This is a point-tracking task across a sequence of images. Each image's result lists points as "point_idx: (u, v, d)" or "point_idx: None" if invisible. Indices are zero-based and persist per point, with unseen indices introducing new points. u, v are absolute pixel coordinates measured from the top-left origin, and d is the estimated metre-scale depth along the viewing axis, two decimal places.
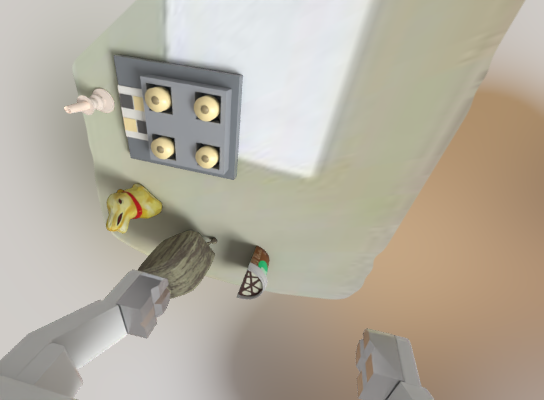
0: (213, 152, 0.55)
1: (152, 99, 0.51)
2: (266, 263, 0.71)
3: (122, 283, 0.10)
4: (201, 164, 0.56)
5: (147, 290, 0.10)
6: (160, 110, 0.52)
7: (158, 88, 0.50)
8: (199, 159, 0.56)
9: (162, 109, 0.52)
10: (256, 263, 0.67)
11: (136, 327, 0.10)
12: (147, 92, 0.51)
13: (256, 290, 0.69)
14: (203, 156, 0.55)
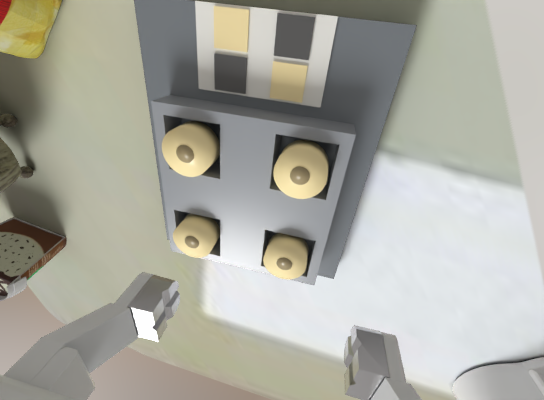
0: None
1: (302, 169, 0.21)
2: None
3: (133, 286, 0.10)
4: (178, 232, 0.28)
5: (158, 293, 0.10)
6: (277, 180, 0.22)
7: None
8: (187, 232, 0.28)
9: (280, 185, 0.23)
10: (32, 272, 0.39)
11: (147, 330, 0.10)
12: (318, 161, 0.21)
13: None
14: (196, 239, 0.28)
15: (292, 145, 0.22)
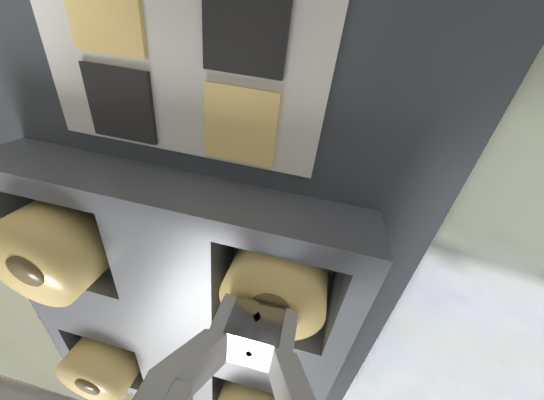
0: None
1: (276, 299, 0.10)
2: None
3: (222, 309, 0.10)
4: (62, 372, 0.16)
5: (250, 317, 0.10)
6: None
7: None
8: (77, 374, 0.16)
9: None
10: None
11: (239, 355, 0.09)
12: (306, 290, 0.10)
13: None
14: (93, 385, 0.16)
15: None
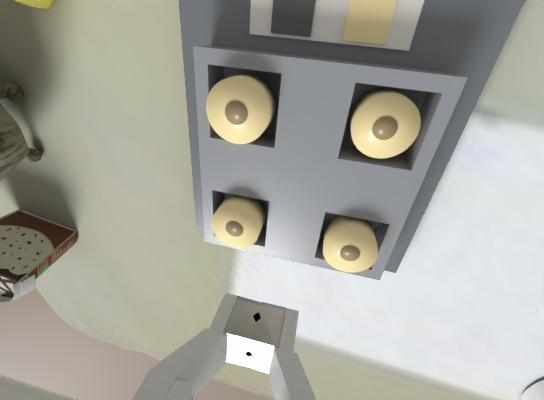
0: None
1: (389, 120, 0.18)
2: None
3: (222, 309, 0.10)
4: (218, 217, 0.23)
5: (250, 317, 0.10)
6: (355, 136, 0.19)
7: None
8: (230, 216, 0.23)
9: (357, 142, 0.19)
10: (40, 270, 0.34)
11: (239, 356, 0.09)
12: (411, 108, 0.17)
13: None
14: (240, 225, 0.23)
15: (374, 93, 0.18)
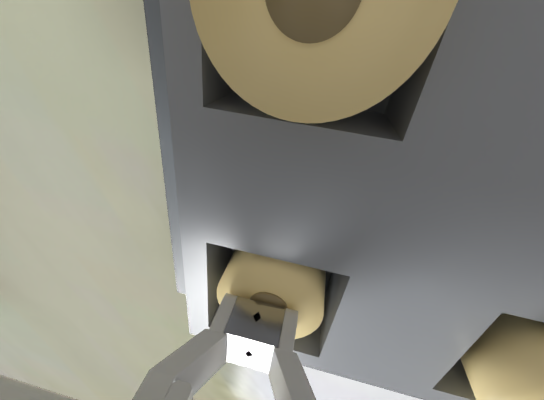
0: None
1: None
2: None
3: (222, 309, 0.10)
4: (234, 282, 0.10)
5: (250, 317, 0.10)
6: None
7: None
8: (261, 284, 0.10)
9: None
10: None
11: (239, 356, 0.09)
12: None
13: None
14: (282, 301, 0.10)
15: None
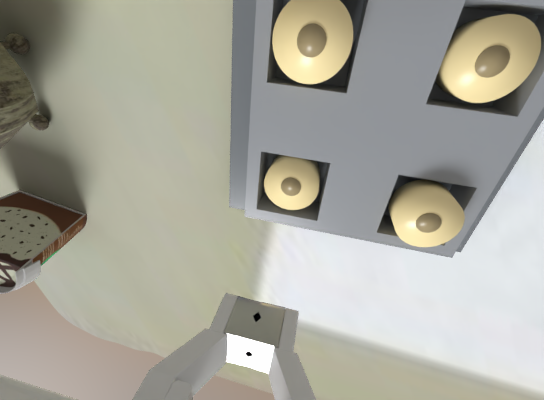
0: None
1: (499, 50, 0.15)
2: None
3: (222, 309, 0.10)
4: (273, 173, 0.21)
5: (250, 317, 0.10)
6: (451, 74, 0.16)
7: None
8: (288, 172, 0.21)
9: (452, 83, 0.16)
10: (46, 256, 0.30)
11: (239, 355, 0.09)
12: (531, 33, 0.14)
13: None
14: (298, 182, 0.21)
15: (476, 20, 0.15)
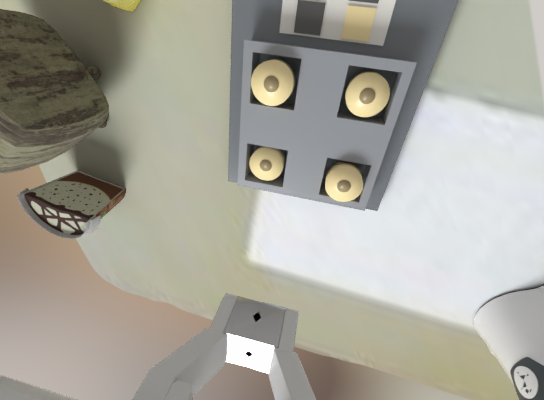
0: None
1: (370, 90, 0.28)
2: None
3: (222, 309, 0.10)
4: (255, 157, 0.34)
5: (250, 317, 0.10)
6: (348, 101, 0.29)
7: None
8: (263, 156, 0.34)
9: (349, 106, 0.29)
10: (101, 215, 0.43)
11: (239, 355, 0.09)
12: (383, 82, 0.27)
13: (53, 223, 0.43)
14: (270, 162, 0.34)
15: (360, 73, 0.28)
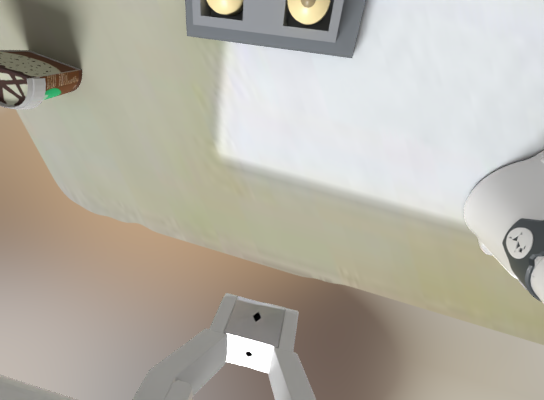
0: (236, 9, 0.31)
1: None
2: None
3: (222, 309, 0.10)
4: None
5: (250, 317, 0.10)
6: None
7: None
8: None
9: None
10: (49, 85, 0.39)
11: (239, 356, 0.09)
12: None
13: None
14: None
15: None
